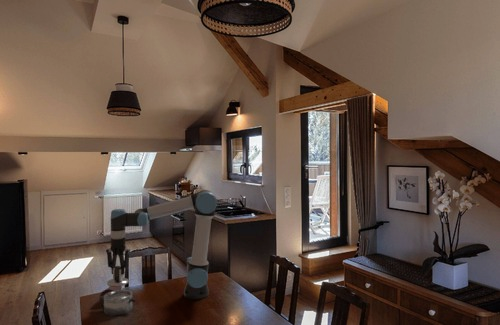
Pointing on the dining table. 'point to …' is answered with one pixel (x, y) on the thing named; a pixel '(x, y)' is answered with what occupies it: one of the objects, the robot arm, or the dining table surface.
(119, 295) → the pot
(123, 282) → the lid
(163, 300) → the dining table surface
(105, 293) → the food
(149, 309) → the dining table surface
